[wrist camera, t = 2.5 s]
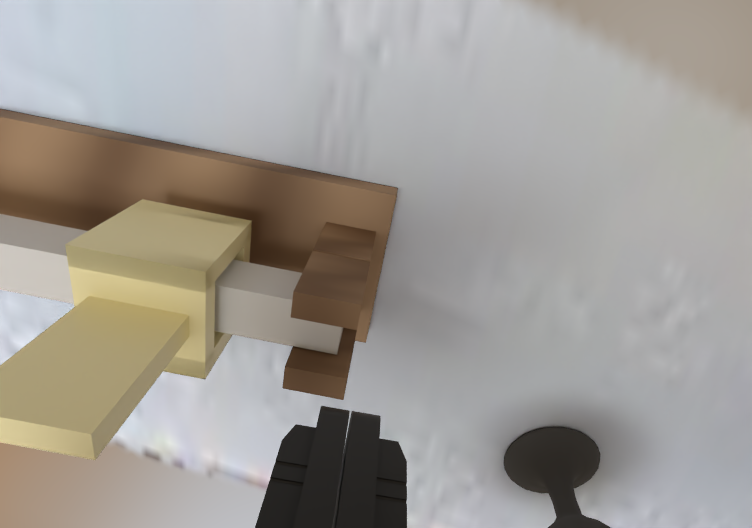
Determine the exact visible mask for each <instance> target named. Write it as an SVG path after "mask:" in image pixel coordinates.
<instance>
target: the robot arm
mask: <svg viewBox="0 0 752 528" xmlns="http://www.w3.org/2000/svg"><path fill="white" fill-rule="evenodd" d="M349 412H350V411H348V410H342V409H336V408H331V407H325V406H321V409H320V413H319V418H318V422H317V427H316V428H314V427H308V426H302V425H295V426H294V427H293V428H292V429H291V431H290V432H289V433H288V434H287V435H286V436H285V437H284V439H283V440H282V442H281V445H280V449H279V452H278V455H277V458H276V462H275V465H274V468H273V471H272V475H271V478H270V481H269V484H268V488H267V491H266V494H265V497H264V501H263V504H262V507H261V510H260V513H259V517H258V520H257V523H256V526H255V528H407V504H406V500H407V486H406V483H407V461H406V459H405V456H404V454H403V452H402V450H401V447H400V445H399V443H398V442H397V441H391V440H385V439H379V435H380V416H378V415H372V414H366V413H361V412H355V411H352V413H351V418H350V423H349V428H348V433H347V438H346V432H347V426H348V419H349ZM345 439H346V443H345ZM344 446H345V448H344ZM343 452H344V453H343Z"/></svg>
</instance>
